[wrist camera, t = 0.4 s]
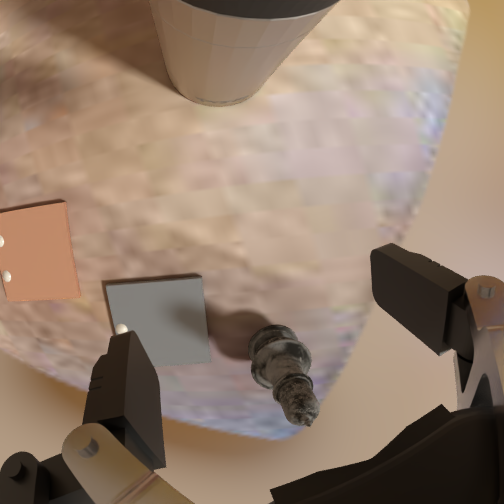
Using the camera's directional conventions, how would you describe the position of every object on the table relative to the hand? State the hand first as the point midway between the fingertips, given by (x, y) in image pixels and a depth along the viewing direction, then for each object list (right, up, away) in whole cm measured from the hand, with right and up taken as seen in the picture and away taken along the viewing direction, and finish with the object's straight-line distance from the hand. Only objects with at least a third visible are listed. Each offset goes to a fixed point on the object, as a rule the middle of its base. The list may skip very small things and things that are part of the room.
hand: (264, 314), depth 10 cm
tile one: (-9, -5, +20) cm, 22 cm away
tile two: (-21, +2, +16) cm, 26 cm away
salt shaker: (+2, -8, +23) cm, 24 cm away
